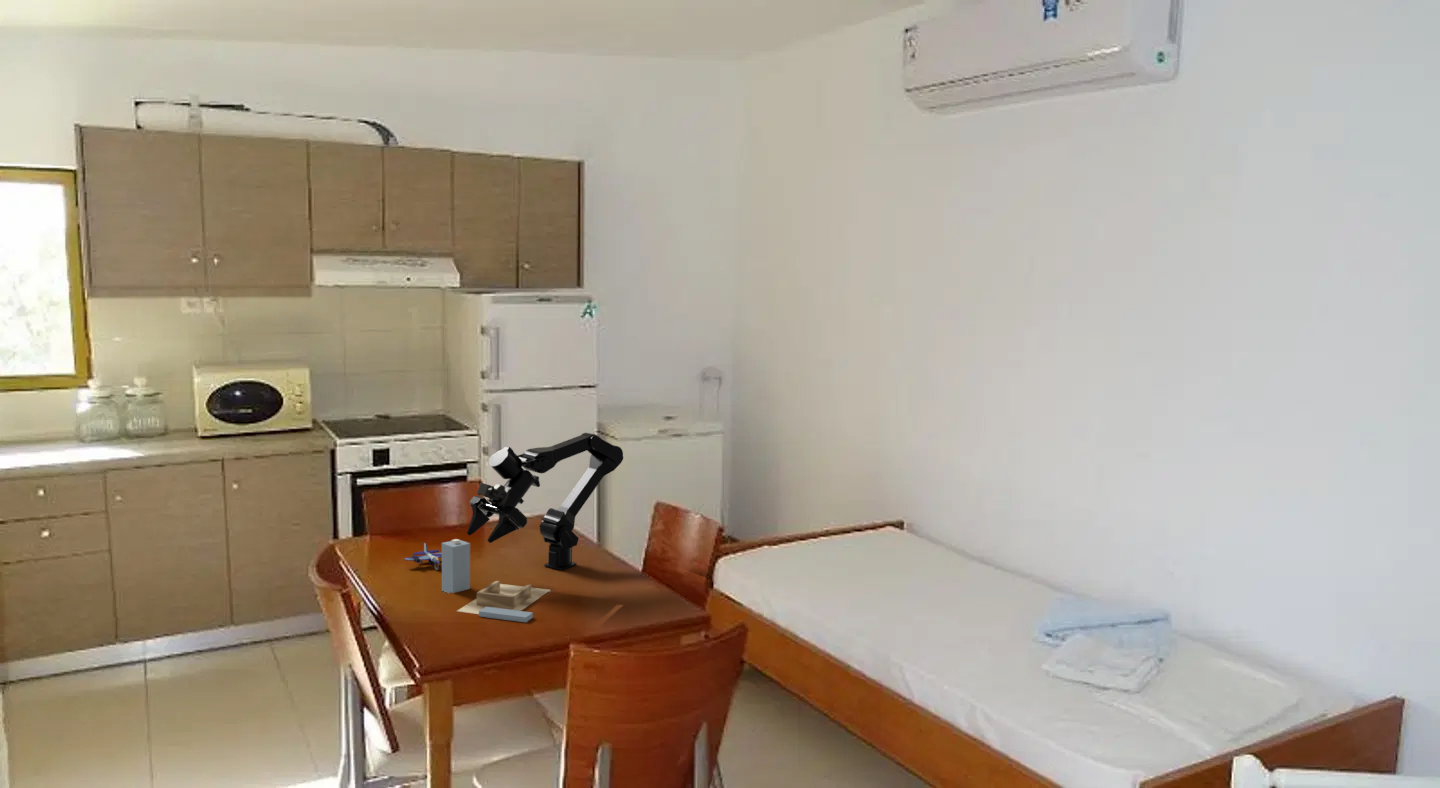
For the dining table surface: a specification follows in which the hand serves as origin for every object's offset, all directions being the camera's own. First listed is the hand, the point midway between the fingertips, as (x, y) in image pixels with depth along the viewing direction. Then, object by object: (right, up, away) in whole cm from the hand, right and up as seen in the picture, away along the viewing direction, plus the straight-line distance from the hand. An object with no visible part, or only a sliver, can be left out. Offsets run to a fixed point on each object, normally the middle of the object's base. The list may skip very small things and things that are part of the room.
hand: (478, 538), depth 263 cm
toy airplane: (-16, -10, +17) cm, 26 cm away
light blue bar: (+12, -15, -23) cm, 30 cm away
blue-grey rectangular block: (-5, -13, -3) cm, 14 cm away
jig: (+9, -14, -11) cm, 20 cm away
